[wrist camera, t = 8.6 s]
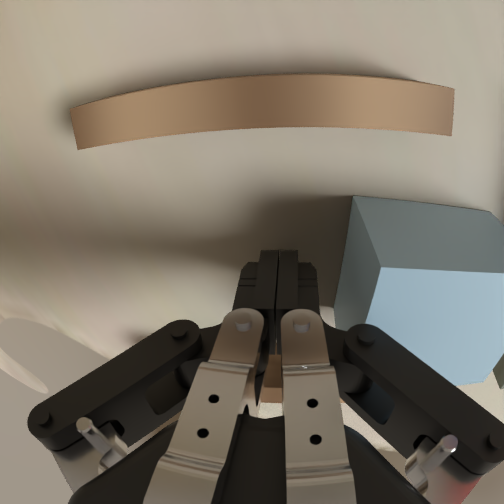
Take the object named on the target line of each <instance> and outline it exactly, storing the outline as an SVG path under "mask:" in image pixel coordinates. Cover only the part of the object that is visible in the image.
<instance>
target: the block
mask: <svg viewBox="0 0 504 504" xmlns="http://www.w3.org/2000/svg"><path fill="white" fill-rule="evenodd" d="M334 317H335V326H336V329H340V330H344V331H348V329H349V328H351V327H352V326H354V325H357V324H371V325H374V326H376V327H378V328H380V329H381V330H382V331H384V332H385V333H386V334H388V335H389V336H390V337H392V338H393V339H394V340H396V341H397V342H398V343H400V344H401V345H402V346H404V347H405V348H406V349H407V350H409V351H410V352H411V353H413V354H414V355H415V356H417V357H418V358H419V359H421V360H422V361H423V362H425V363H426V364H427V365H428V366H430V367H431V368H432V369H434V370H435V371H436V372H438V373H439V374H440V375H442V376H443V377H444V378H445V379H447V380H448V381H449V382H451V383H452V384H453V385H455V386H457V385H466V384H473V383H480V382H484V380H485V379H486V378H487V376H488V375H489V374H490V372H491V371H492V370H493V368H494V367H495V365H496V364H497V362H498V361H499V360H500V358H501V357H502V355H503V354H504V225H503V224H502V223H501V222H500V221H499V220H498V219H497V218H496V217H495V216H494V215H493V214H492V213H491V212H487V211H481V210H474V209H467V208H460V207H453V206H446V205H438V204H430V203H421V202H413V201H404V200H394V199H385V198H374V197H363V196H353V199H352V206H351V213H350V220H349V226H348V233H347V239H346V245H345V251H344V256H343V262H342V268H341V273H340V278H339V284H338V289H337V294H336V299H335V303H334Z"/></svg>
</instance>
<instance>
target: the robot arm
mask: <svg viewBox="0 0 504 504" xmlns="http://www.w3.org/2000/svg"><path fill="white" fill-rule="evenodd" d="M276 338H277V355H281V389H282V416H279V417H273V418H268V419H261V418H258V414H259V408H260V403H261V398H262V394H263V389H264V384H265V379H266V374H267V366H268V360H269V355H275V350H276ZM340 398H341V399H342V400H343V401H344V402H345V403H346V404H347V405H348V406H349V407H351V408H352V409H353V410H354V411H355V412H356V413H357V414H358V415H359V416H360V417H361V418H362V419H363V420H364V421H365V422H366V423H368V424H369V425H370V426H371V427H372V428H373V429H374V430H375V431H376V432H377V433H378V434H379V435H380V436H382V437H383V438H384V439H385V440H386V441H387V442H388V443H389V444H390V445H391V446H393V447H394V448H395V449H396V450H397V451H398V452H399V453H400V454H401V455H402V456H404V457H405V458H406V459H407V461H406V464H405V473H406V476H407V478H408V479H409V480H410V482H411V483H412V485H413V486H414V487H413V486H412V485H411V484H410V483H409V482H408V481H407V480H406V479H405V478H404V477H403V476H402V475H401V474H400V473H399V472H398V471H397V470H396V469H395V468H394V467H393V466H392V465H391V464H390V463H389V462H388V461H387V460H386V459H385V458H384V457H383V456H382V455H381V454H380V453H379V452H378V451H377V450H376V449H375V448H374V447H373V446H372V445H371V444H370V443H369V442H368V440H367V439H366V438H364V437H363V436H362V435H361V434H360V433H358V432H357V431H355V430H354V429H352V428H350V427H348V426H346V425H344V423H343V417H342V410H341V403H340ZM181 410H182V412H181V415H180V418H179V420H177V421H175V422H173V423H171V424H170V425H168V426H167V427H165V428H163V429H162V430H161V431H160V432H158V433H157V434H156V435H154V436H153V437H152V438H150V439H149V440H148V441H146V442H145V443H143V444H142V445H141V446H140V447H138V448H137V449H135V450H134V451H132V452H131V453H130V454H128V455H127V453H128V447H129V446H131V445H133V444H134V443H136V442H137V441H138V440H140V439H142V438H143V437H144V436H146V435H147V434H149V433H150V432H152V431H153V430H155V429H156V428H157V427H159V426H160V425H162V424H163V423H165V422H166V421H167V420H169V419H170V418H172V417H173V416H174V415H176V414H177V413H178V412H180V411H181ZM28 428H29V431H30V432H31V433H32V434H33V435H34V436H35V437H36V438H37V439H38V440H39V441H40V442H42V444H43V445H44V446H45V447H46V448H47V449H48V450H49V451H50V452H52V454H53V456H54V458H55V460H56V462H57V464H58V466H59V468H60V470H61V472H62V474H63V475H64V477H65V479H66V481H67V483H68V484H69V486H70V488H71V490H72V491H73V493H74V494H73V495H72V497H71V498H70V500H69V502H68V504H461V503H462V502H463V500H464V499H465V498H466V497H467V495H468V494H469V493H470V492H471V490H472V489H473V488H474V487H475V485H476V484H477V482H478V481H479V480H480V478H481V477H483V476H484V475H485V474H487V473H488V472H489V471H490V470H492V469H493V468H495V467H496V466H497V465H498V464H500V463H501V462H502V461H503V460H504V424H503V423H502V422H501V421H499V420H498V419H497V418H496V417H494V416H493V415H492V414H491V413H489V412H488V411H487V410H485V409H484V408H483V407H482V406H480V405H479V404H478V403H476V402H475V401H474V400H473V399H471V398H470V397H469V396H467V395H466V394H465V393H464V392H462V391H461V390H460V389H458V388H457V387H456V386H455V385H453V384H452V383H451V382H449V381H448V380H447V379H445V378H444V377H443V376H442V375H440V374H439V373H438V372H436V371H435V370H434V369H432V368H431V367H430V366H428V365H427V364H426V363H425V362H423V361H422V360H421V359H419V358H418V357H417V356H415V355H414V354H413V353H411V352H410V351H409V350H407V349H406V348H405V347H404V346H402V345H401V344H400V343H398V342H397V341H396V340H394V339H393V338H392V337H390V336H389V335H388V334H386V333H385V332H384V331H382V330H381V329H380V328H378V327H376V326H374V325H371V324H357V325H354V326H352V327H351V328H349V329H348V331H344V330H340V329H336V328H333V327H331V326H329V325H328V324H326V323H325V322H324V321H323V320H322V318H321V316H320V309H319V296H318V284H317V272H316V269H315V268H314V266H313V265H312V264H311V262H298V250H280V258H279V250H261V254H260V260H259V262H248V263H247V264H246V265H245V266H244V267H243V269H242V270H241V274H240V280H239V282H238V287H237V291H236V295H235V300H234V304H233V309H232V311H231V312H230V313H228V314H227V315H226V316H225V318H224V320H223V322H222V323H221V324H219V325H216V326H213V327H208V328H203V329H199V327H198V325H197V324H196V323H194V322H192V321H190V320H176V321H173V322H171V323H169V324H167V325H166V326H164V327H162V328H161V329H159V330H158V331H156V332H155V333H153V334H151V335H150V336H148V337H147V338H145V339H143V340H142V341H140V342H139V343H137V344H135V345H134V346H132V347H131V348H129V349H127V350H126V351H124V352H123V353H121V354H119V355H118V356H116V357H115V358H113V359H111V360H110V361H108V362H107V363H105V364H103V365H102V366H100V367H99V368H97V369H95V370H94V371H92V372H91V373H89V374H87V375H86V376H84V377H82V378H81V379H80V380H77V381H76V382H74V383H73V384H71V385H69V386H68V387H66V388H65V389H63V390H61V391H60V392H58V393H56V394H55V395H53V396H51V397H50V398H48V399H46V400H45V401H43V402H42V403H40V404H38V405H37V406H35V407H34V408H33V409H32V411H31V412H30V414H29V417H28Z"/></svg>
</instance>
